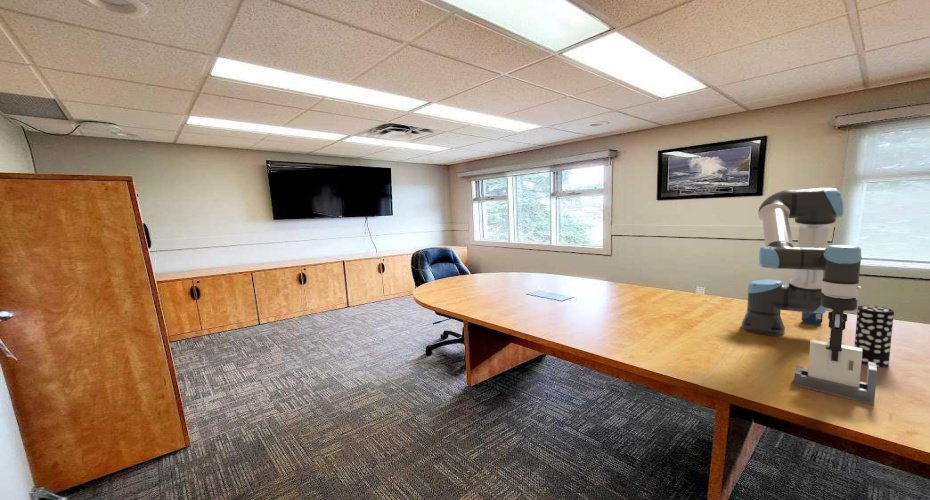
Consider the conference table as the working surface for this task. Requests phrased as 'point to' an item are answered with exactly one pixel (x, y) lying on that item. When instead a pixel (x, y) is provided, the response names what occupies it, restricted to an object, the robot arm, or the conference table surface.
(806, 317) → the soda can
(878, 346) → the white-spotted black cylinder
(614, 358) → the conference table surface
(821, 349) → the door panel
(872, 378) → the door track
